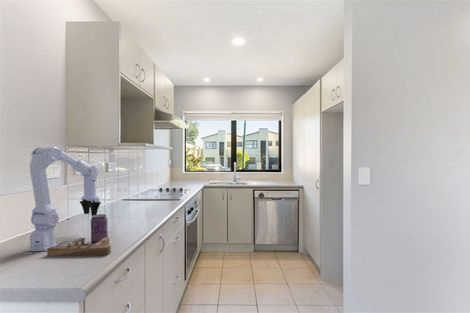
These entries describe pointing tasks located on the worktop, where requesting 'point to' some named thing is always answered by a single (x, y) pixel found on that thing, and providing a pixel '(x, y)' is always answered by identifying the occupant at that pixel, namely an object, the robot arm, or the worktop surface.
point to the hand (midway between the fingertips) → (90, 214)
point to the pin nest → (81, 248)
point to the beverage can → (99, 227)
